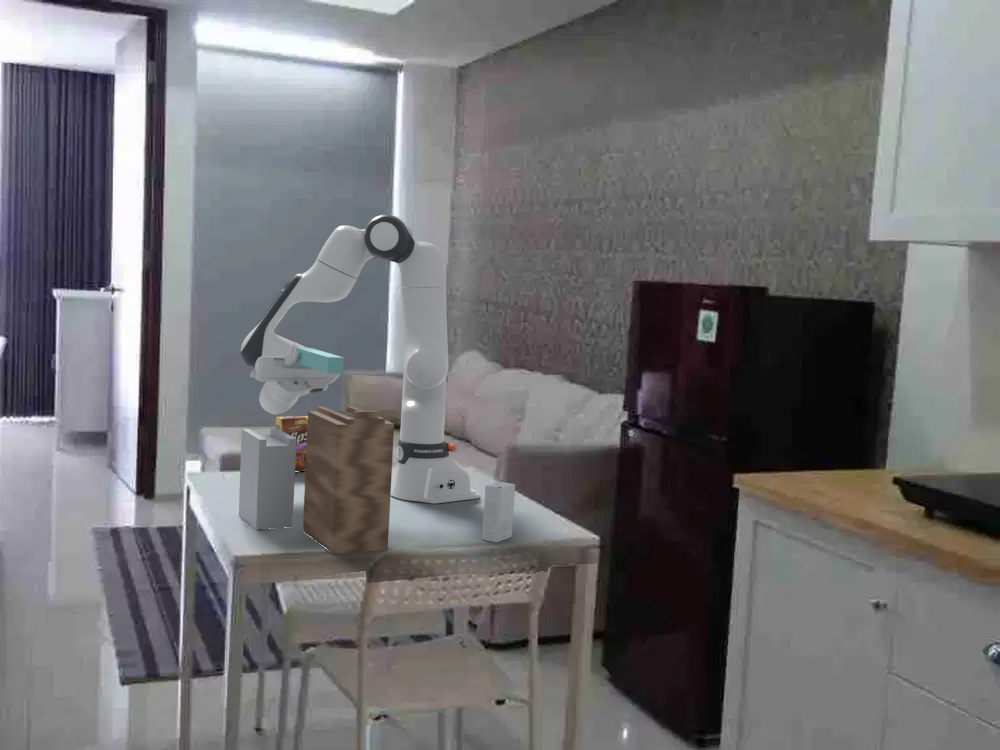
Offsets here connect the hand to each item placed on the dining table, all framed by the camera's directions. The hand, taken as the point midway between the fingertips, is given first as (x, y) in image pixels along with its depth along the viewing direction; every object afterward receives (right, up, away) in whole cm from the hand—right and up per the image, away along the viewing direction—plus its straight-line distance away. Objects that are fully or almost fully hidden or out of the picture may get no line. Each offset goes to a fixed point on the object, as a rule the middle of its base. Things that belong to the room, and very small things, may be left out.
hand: (308, 354), depth 236 cm
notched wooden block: (+11, -39, -21) cm, 46 cm away
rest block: (-8, -37, -9) cm, 39 cm away
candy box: (-13, -31, +46) cm, 57 cm away
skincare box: (+43, -40, -12) cm, 60 cm away
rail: (+3, -3, -6) cm, 8 cm away
